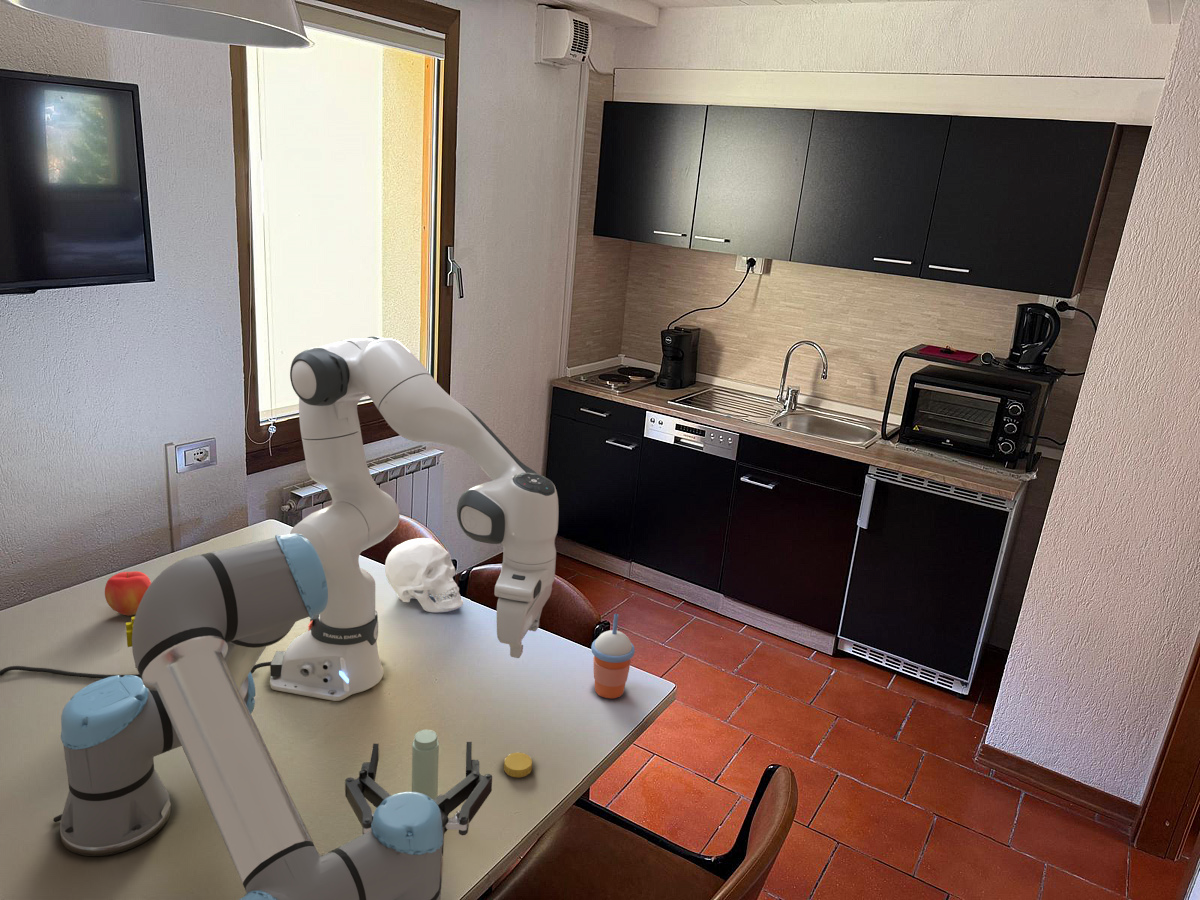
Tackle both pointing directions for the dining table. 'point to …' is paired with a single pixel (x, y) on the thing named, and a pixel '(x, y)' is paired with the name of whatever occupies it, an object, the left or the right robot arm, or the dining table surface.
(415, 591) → the skull
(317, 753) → the dining table surface
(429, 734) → the green bottle
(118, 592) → the apple
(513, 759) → the lid
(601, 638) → the cup with straw
